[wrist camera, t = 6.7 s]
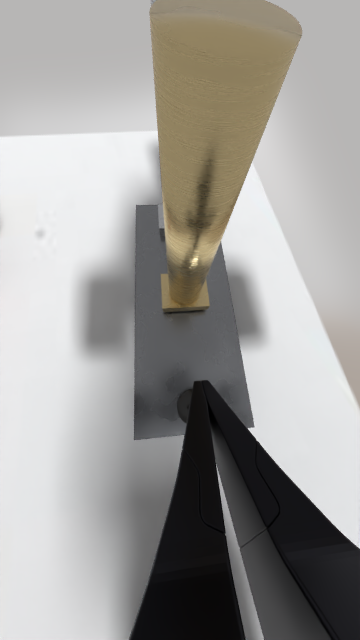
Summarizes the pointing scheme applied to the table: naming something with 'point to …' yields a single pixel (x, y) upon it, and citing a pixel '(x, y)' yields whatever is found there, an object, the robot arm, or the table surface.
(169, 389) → the bolt plate
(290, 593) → the robot arm
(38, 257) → the table surface
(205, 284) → the gold tapered block
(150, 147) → the table surface
